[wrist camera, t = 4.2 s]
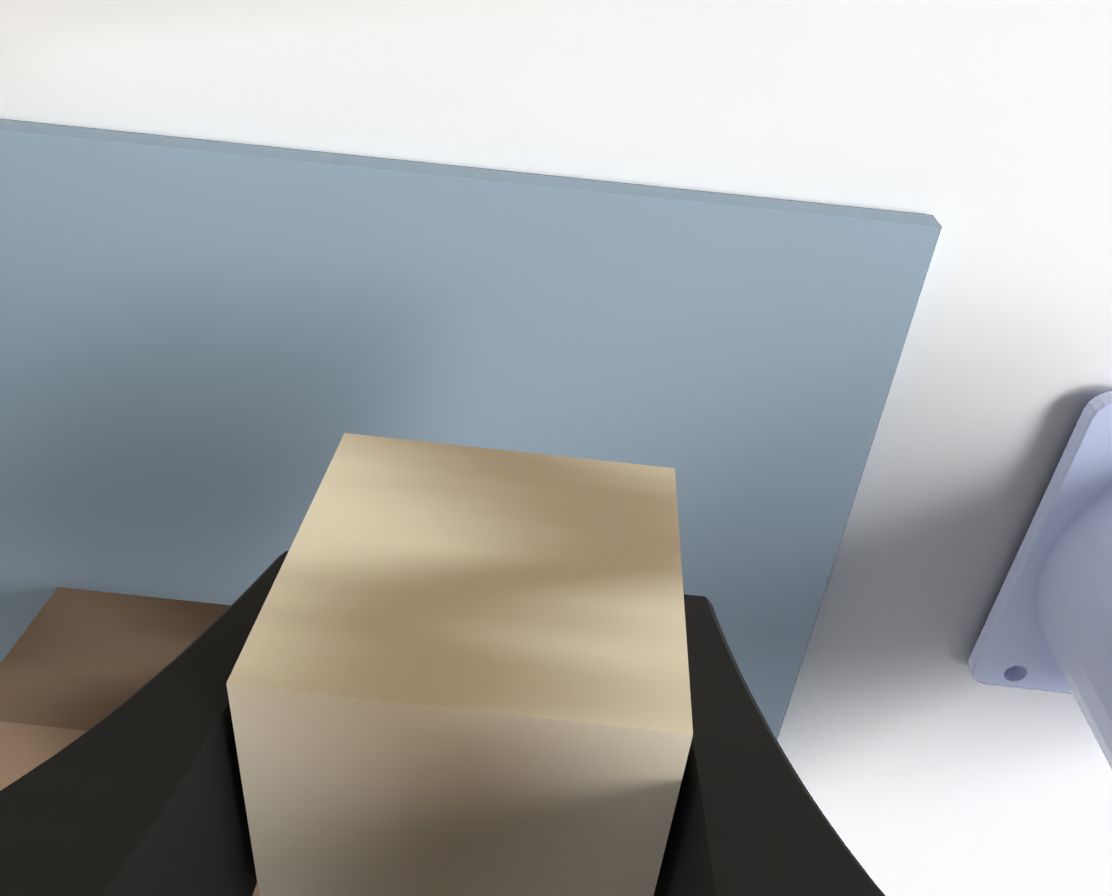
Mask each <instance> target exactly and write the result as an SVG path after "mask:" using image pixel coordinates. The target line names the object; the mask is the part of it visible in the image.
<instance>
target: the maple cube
mask: <svg viewBox="0 0 1112 896" xmlns="http://www.w3.org/2000/svg"><path fill="white" fill-rule="evenodd" d="M226 685H227V691H228V698H229V704H230V711H231V717H232V723H233V730H234V736H235V743H236V749H237V756H238V762H239V768H240V775H241V781H242V788H243V794H244V800H245V807H246V813H247V820H248V826H249V832H250V839H251V845H252V852H253V858H254V864H255V871H256V877H257V884H258V890H259V896H654V892H655V888H656V884H657V879H658V875H659V871H660V867H661V863H662V859H663V855H664V851H665V847H666V843H667V839H668V835H669V831H670V827H671V823H672V819H673V814H674V810H675V806H676V802H677V798H678V794H679V790H680V786H681V782H682V778H683V774H684V770H685V766H686V762H687V758H688V753H689V749H690V745H691V741H692V737H693V725H692V710H691V695H690V681H689V666H688V652H687V637H686V622H685V608H684V593H683V579H682V564H681V549H680V535H679V520H678V506H677V491H676V477H675V468H667V467H658V466H649V465H639V464H630V463H621V462H611V461H602V460H592V459H583V458H574V457H564V456H555V455H546V454H536V453H527V452H517V451H508V450H499V449H489V448H480V447H471V446H461V445H452V444H443V443H433V442H424V441H414V440H405V439H396V438H386V437H377V436H368V435H358V434H349V433H344V435H343V437H342V440H341V442H340V444H339V446H338V448H337V450H336V452H335V454H334V456H333V459H332V461H331V463H330V465H329V467H328V469H327V471H326V473H325V475H324V478H323V480H322V482H321V484H320V486H319V488H318V490H317V492H316V495H315V497H314V499H313V501H312V503H311V505H310V507H309V509H308V511H307V514H306V516H305V518H304V520H303V522H302V524H301V526H300V528H299V531H298V533H297V535H296V537H295V539H294V541H293V543H292V545H291V547H290V550H289V552H288V554H287V556H286V558H285V560H284V562H283V564H282V566H281V569H280V571H279V573H278V575H277V577H276V579H275V581H274V583H273V586H272V588H271V590H270V592H269V594H268V596H267V598H266V600H265V602H264V605H263V607H262V609H261V611H260V613H259V615H258V617H257V619H256V621H255V624H254V626H253V628H252V630H251V632H250V634H249V636H248V638H247V641H246V643H245V645H244V647H243V649H242V651H241V653H240V655H239V657H238V660H237V662H236V664H235V666H234V668H233V670H232V672H231V674H230V677H229V679H228V681H227V683H226Z"/></svg>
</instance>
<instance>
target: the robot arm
mask: <svg viewBox="0 0 1112 896" xmlns="http://www.w3.org/2000/svg"><path fill="white" fill-rule="evenodd" d="M288 552H289V551H285V552H284V553H283V554H281V555H280V556H279V557H278V558H277V559H276V560H275V561H274V562H273V563H272V564H271V565H270V566H269V567H268V568H267V569H266V570H265V571H264V572H263V573H262V574H261V575H260V576H259V577H258V579H257V580H256V581H255V582H254V583H253V584H252V585H251V586H250V587H249V588H248V589H247V590H246V591H245V592H244V593H243V594H242V595H241V596H240V597H239V598H238V599H237V600H236V601H235V602H234V603H233V604H232V605H231V606H230V607H229V608H228V609H227V610H226V611H225V612H224V613H223V614H222V615H221V616H220V617H219V618H218V619H217V620H216V621H215V622H214V623H212V624H211V625H210V626H209V627H208V628H207V629H206V630H205V631H204V632H203V633H202V634H201V635H200V636H199V637H198V638H197V639H196V640H194V641H193V642H192V643H191V644H190V645H189V646H188V647H187V648H186V649H185V650H184V651H183V652H182V653H181V654H179V655H178V656H177V657H176V658H175V659H174V660H173V661H172V662H171V663H169V664H168V665H167V666H166V667H165V668H164V669H162V670H161V671H160V672H159V673H158V674H157V675H155V676H154V677H153V678H152V679H151V680H150V681H148V682H147V683H146V684H145V685H144V686H143V687H141V688H140V689H139V690H138V691H137V692H136V693H134V694H133V695H132V696H131V697H130V698H128V699H127V700H126V701H125V702H124V703H122V704H121V705H120V706H119V707H117V708H116V709H115V710H114V711H112V712H111V713H110V714H109V715H107V716H106V717H105V718H103V719H102V720H101V721H100V722H98V723H97V724H96V725H94V726H93V727H92V728H90V729H89V730H88V731H86V732H85V733H84V734H82V735H81V736H80V737H78V738H77V739H75V740H74V741H73V742H71V743H70V744H69V745H67V746H66V747H65V748H63V749H62V750H60V751H59V752H58V753H56V754H55V755H53V756H52V757H50V758H49V759H47V760H46V761H44V762H43V763H41V764H40V765H38V766H37V767H35V768H34V769H32V770H31V771H29V772H28V773H27V774H25V775H24V776H22V777H21V778H19V779H18V780H16V781H15V782H13V783H11V784H10V785H8V786H7V787H5V788H4V789H2V790H0V896H252V895H253V892H254V890H255V887H256V884H257V877H256V871H255V864H254V858H253V852H252V845H251V839H250V832H249V826H248V820H247V813H246V807H245V800H244V794H243V788H242V781H241V775H240V768H239V762H238V756H237V749H236V743H235V736H234V730H233V723H232V717H231V711H230V704H229V698H228V691H227V685H226V683H227V681H228V679H229V677H230V674H231V672H232V670H233V668H234V666H235V664H236V662H237V660H238V657H239V655H240V653H241V651H242V649H243V647H244V645H245V643H246V641H247V638H248V636H249V634H250V632H251V630H252V628H253V626H254V624H255V621H256V619H257V617H258V615H259V613H260V611H261V609H262V607H263V605H264V602H265V600H266V598H267V596H268V594H269V592H270V590H271V588H272V586H273V583H274V581H275V579H276V577H277V575H278V573H279V571H280V569H281V566H282V564H283V562H284V560H285V558H286V556H287V554H288ZM684 608H685V622H686V637H687V652H688V666H689V681H690V695H691V710H692V725H693V737H692V741H691V745H690V749H689V753H688V758H687V762H686V766H685V770H684V774H683V778H682V782H681V786H680V790H679V794H678V798H677V802H676V806H675V810H674V814H673V819H672V823H671V827H670V831H669V835H668V839H667V843H666V847H665V851H664V855H663V859H662V863H661V867H660V871H659V875H658V879H657V884H656V888H655V892H654V896H885V895H884V894H883V892H882V891H881V890H880V889H879V888H878V887H877V885H876V884H875V883H874V882H873V880H872V879H871V878H870V877H869V875H868V874H867V873H866V871H865V870H864V869H863V867H862V866H861V865H860V863H859V862H858V861H857V860H856V858H855V857H854V856H853V854H852V853H851V852H850V850H849V849H848V848H847V847H846V845H845V844H844V842H843V841H842V840H841V838H840V837H839V835H838V834H837V833H836V831H835V830H834V828H833V827H832V826H831V824H830V823H829V821H828V820H827V819H826V817H825V816H824V814H823V813H822V811H821V810H820V809H819V807H818V806H817V804H816V803H815V801H814V800H813V798H812V797H811V795H810V793H809V792H808V790H807V789H806V787H805V786H804V784H803V783H802V781H801V780H800V778H799V776H798V775H797V773H796V771H795V770H794V768H793V766H792V765H791V763H790V762H789V760H788V758H787V757H786V755H785V753H784V752H783V750H782V748H781V747H780V745H779V743H778V741H777V740H776V738H775V736H774V734H773V733H772V731H771V729H770V727H769V725H768V724H767V722H766V720H765V718H764V716H763V714H762V712H761V710H760V709H759V707H758V705H757V703H756V701H755V699H754V697H753V695H752V694H751V692H750V690H749V688H748V686H747V684H746V682H745V680H744V678H743V676H742V674H741V671H740V669H739V667H738V665H737V663H736V661H735V659H734V656H733V654H732V652H731V650H730V648H729V645H728V643H727V641H726V638H725V636H724V634H723V631H722V629H721V626H720V624H719V621H718V619H717V616H716V613H715V611H714V608H713V605H712V603H711V602H710V601H709V600H708V599H707V597H705V596H696V595H687V594H684ZM968 665H969V667H970V670H971V672H972V675H973V677H974V679H975V680H977V681H978V682H980V683H984V684H988V685H997V686H1007V687H1016V688H1026V689H1035V690H1044V691H1054V692H1063V693H1073V695H1074V697H1075V698H1076V700H1077V702H1078V704H1079V706H1080V708H1081V710H1082V712H1083V714H1084V716H1085V718H1086V720H1087V722H1088V724H1089V726H1090V728H1091V730H1092V732H1093V734H1094V736H1095V738H1096V739H1097V741H1098V743H1099V745H1100V747H1101V749H1102V751H1103V753H1104V755H1105V757H1106V759H1107V761H1108V763H1109V765H1110V767H1111V769H1112V391H1107V392H1105V393H1102V394H1099V395H1097V396H1096V397H1094V398H1093V399H1092V400H1090V401H1089V402H1088V403H1087V405H1086V406H1085V408H1084V409H1083V411H1082V413H1081V415H1080V417H1079V420H1078V422H1077V424H1076V426H1075V428H1074V430H1073V433H1072V435H1071V437H1070V439H1069V441H1068V444H1067V446H1066V448H1065V450H1064V452H1063V455H1062V457H1061V459H1060V461H1059V463H1058V465H1057V468H1056V470H1055V472H1054V474H1053V476H1052V479H1051V481H1050V483H1049V485H1048V487H1047V489H1046V492H1045V494H1044V496H1043V498H1042V500H1041V503H1040V505H1039V507H1038V509H1037V511H1036V513H1035V516H1034V518H1033V520H1032V522H1031V524H1030V527H1029V529H1028V531H1027V533H1026V535H1025V537H1024V540H1023V542H1022V544H1021V546H1020V548H1019V551H1018V553H1017V555H1016V557H1015V559H1014V561H1013V564H1012V566H1011V568H1010V570H1009V572H1008V575H1007V577H1006V579H1005V581H1004V583H1003V585H1002V588H1001V590H1000V592H999V594H998V596H997V599H996V601H995V603H994V605H993V607H992V610H991V612H990V614H989V616H988V618H987V620H986V623H985V625H984V627H983V629H982V631H981V634H980V636H979V638H978V640H977V642H976V644H975V647H974V649H973V651H972V653H971V655H970V658H969V662H968ZM1013 666H1017V667H1015V668H1012V669H1008V668H1010V667H1013Z"/></svg>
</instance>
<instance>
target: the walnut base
mask: <svg viewBox="0 0 1112 896" xmlns="http://www.w3.org/2000/svg"><path fill="white" fill-rule="evenodd" d="M230 606H231V605H223V604H213V603H204V602H194V601H185V600H176V599H166V598H157V597H147V596H138V595H129V594H119V593H110V592H101V591H91V590H82V589H72V588H63V587H57V589H56V590H55V591H54V593H53V594H52V595H51V597H50V598H49V599H48V601H47V602H46V603H45V605H44V606H43V607H42V609H41V610H40V611H39V613H38V614H37V615H36V617H35V618H34V619H33V621H32V622H31V623H30V625H29V626H28V627H27V629H26V630H25V631H24V633H23V634H22V635H21V637H20V638H19V639H18V641H17V642H16V643H15V645H14V646H13V647H12V649H11V650H10V651H9V653H8V654H7V655H6V657H5V658H4V659H3V661H2V662H1V663H0V790H2V789H4V788H5V787H7V786H8V785H10V784H11V783H13V782H15V781H16V780H18V779H19V778H21V777H22V776H24V775H25V774H27V773H28V772H29V771H31V770H32V769H34V768H35V767H37V766H38V765H40V764H41V763H43V762H44V761H46V760H47V759H49V758H50V757H52V756H53V755H55V754H56V753H58V752H59V751H60V750H62V749H63V748H65V747H66V746H67V745H69V744H70V743H71V742H73V741H74V740H75V739H77V738H78V737H80V736H81V735H82V734H84V733H85V732H86V731H88V730H89V729H90V728H92V727H93V726H94V725H96V724H97V723H98V722H100V721H101V720H102V719H103V718H105V717H106V716H107V715H109V714H110V713H111V712H112V711H114V710H115V709H116V708H117V707H119V706H120V705H121V704H122V703H124V702H125V701H126V700H127V699H128V698H130V697H131V696H132V695H133V694H134V693H136V692H137V691H138V690H139V689H140V688H141V687H143V686H144V685H145V684H146V683H147V682H148V681H150V680H151V679H152V678H153V677H154V676H155V675H157V674H158V673H159V672H160V671H161V670H162V669H164V668H165V667H166V666H167V665H168V664H169V663H171V662H172V661H173V660H174V659H175V658H176V657H177V656H178V655H179V654H181V653H182V652H183V651H184V650H185V649H186V648H187V647H188V646H189V645H190V644H191V643H192V642H193V641H194V640H196V639H197V638H198V637H199V636H200V635H201V634H202V633H203V632H204V631H205V630H206V629H207V628H208V627H209V626H210V625H211V624H212V623H214V622H215V621H216V620H217V619H218V618H219V617H220V616H221V615H222V614H223V613H224V612H225V611H226V610H227V609H228V608H229V607H230ZM252 896H259V890H258V884H256V887H255V890H254V892H253V895H252Z"/></svg>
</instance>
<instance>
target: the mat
mask: <svg viewBox="0 0 1112 896" xmlns="http://www.w3.org/2000/svg"><path fill="white" fill-rule="evenodd" d="M941 228H942V227H941V225H940V224H939V223H938V221H937V220H936V219H935V218H934V216H933V215H926V214H916V213H907V212H897V211H887V210H878V209H868V208H858V207H848V206H839V205H829V204H819V203H810V202H800V201H790V200H781V199H771V198H761V197H751V196H742V195H732V194H722V193H713V192H703V191H693V190H684V189H674V188H664V187H655V186H645V185H635V184H625V183H616V182H606V181H596V180H587V179H577V178H567V177H558V176H548V175H538V174H528V173H519V172H509V171H499V170H490V169H480V168H470V167H461V166H451V165H441V164H431V163H422V162H412V161H402V160H393V159H383V158H373V157H364V156H354V155H344V154H334V153H325V152H315V151H305V150H296V149H286V148H276V147H267V146H257V145H247V144H237V143H228V142H218V141H208V140H199V139H189V138H179V137H170V136H160V135H150V134H141V133H131V132H121V131H111V130H102V129H92V128H82V127H73V126H63V125H53V124H44V123H34V122H24V121H14V120H5V119H0V663H1V662H2V661H3V659H4V658H5V657H6V655H7V654H8V653H9V651H10V650H11V649H12V647H13V646H14V645H15V643H16V642H17V641H18V639H19V638H20V637H21V635H22V634H23V633H24V631H25V630H26V629H27V627H28V626H29V625H30V623H31V622H32V621H33V619H34V618H35V617H36V615H37V614H38V613H39V611H40V610H41V609H42V607H43V606H44V605H45V603H46V602H47V601H48V599H49V598H50V597H51V595H52V594H53V593H54V591H55V590H56V589H57V587H63V588H72V589H82V590H91V591H101V592H110V593H119V594H129V595H138V596H147V597H157V598H166V599H176V600H185V601H194V602H204V603H213V604H223V605H232V604H233V603H234V602H235V601H236V600H237V599H238V598H239V597H240V596H241V595H242V594H243V593H244V592H245V591H246V590H247V589H248V588H249V587H250V586H251V585H252V584H253V583H254V582H255V581H256V580H257V579H258V577H259V576H260V575H261V574H262V573H263V572H264V571H265V570H266V569H267V568H268V567H269V566H270V565H271V564H272V563H273V562H274V561H275V560H276V559H277V558H278V557H279V556H280V555H281V554H283V553H284V552H285V551H289V550H290V547H291V545H292V543H293V541H294V539H295V537H296V535H297V533H298V531H299V528H300V526H301V524H302V522H303V520H304V518H305V516H306V514H307V511H308V509H309V507H310V505H311V503H312V501H313V499H314V497H315V495H316V492H317V490H318V488H319V486H320V484H321V482H322V480H323V478H324V475H325V473H326V471H327V469H328V467H329V465H330V463H331V461H332V459H333V456H334V454H335V452H336V450H337V448H338V446H339V444H340V442H341V440H342V437H343V435H344V433H349V434H358V435H368V436H377V437H386V438H396V439H405V440H414V441H424V442H433V443H443V444H452V445H461V446H471V447H480V448H489V449H499V450H508V451H517V452H527V453H536V454H546V455H555V456H564V457H574V458H583V459H592V460H602V461H611V462H621V463H630V464H639V465H649V466H658V467H667V468H675V477H676V491H677V506H678V520H679V535H680V549H681V564H682V579H683V593H684V594H687V595H696V596H705V597H707V599H708V600H709V601H710V602H711V603H712V605H713V608H714V611H715V613H716V616H717V619H718V621H719V624H720V626H721V629H722V631H723V634H724V636H725V638H726V641H727V643H728V645H729V648H730V650H731V652H732V654H733V656H734V659H735V661H736V663H737V665H738V667H739V669H740V671H741V674H742V676H743V678H744V680H745V682H746V684H747V686H748V688H749V690H750V692H751V694H752V695H753V697H754V699H755V701H756V703H757V705H758V707H759V709H760V710H761V712H762V714H763V716H764V718H765V720H766V722H767V724H768V725H769V727H770V729H771V731H772V733H773V734H774V736H775V738H776V740H777V738H778V735H779V732H780V729H781V726H782V722H783V719H784V716H785V713H786V710H787V707H788V704H789V701H790V697H791V694H792V691H793V688H794V685H795V682H796V679H797V676H798V673H799V669H800V666H801V663H802V660H803V657H804V654H805V651H806V648H807V645H808V641H809V638H810V635H811V632H812V629H813V626H814V623H815V620H816V617H817V613H818V610H819V607H820V604H821V601H822V598H823V595H824V592H825V589H826V585H827V582H828V579H829V576H830V573H831V570H832V567H833V564H834V561H835V557H836V554H837V551H838V548H839V545H840V542H841V539H842V536H843V533H844V529H845V526H846V523H847V520H848V517H849V514H850V511H851V508H852V505H853V501H854V498H855V495H856V492H857V489H858V486H859V483H860V480H861V477H862V473H863V470H864V467H865V464H866V461H867V458H868V455H869V452H870V449H871V445H872V442H873V439H874V436H875V433H876V430H877V427H878V424H879V421H880V417H881V414H882V411H883V408H884V405H885V402H886V399H887V396H888V393H889V389H890V386H891V383H892V380H893V377H894V374H895V371H896V368H897V365H898V361H899V358H900V355H901V352H902V349H903V346H904V343H905V340H906V336H907V333H908V330H909V327H910V324H911V321H912V318H913V315H914V312H915V308H916V305H917V302H918V299H919V296H920V293H921V290H922V287H923V284H924V280H925V277H926V274H927V271H928V268H929V265H930V262H931V259H932V256H933V252H934V249H935V246H936V243H937V240H938V237H939V234H940V231H941Z"/></svg>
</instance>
